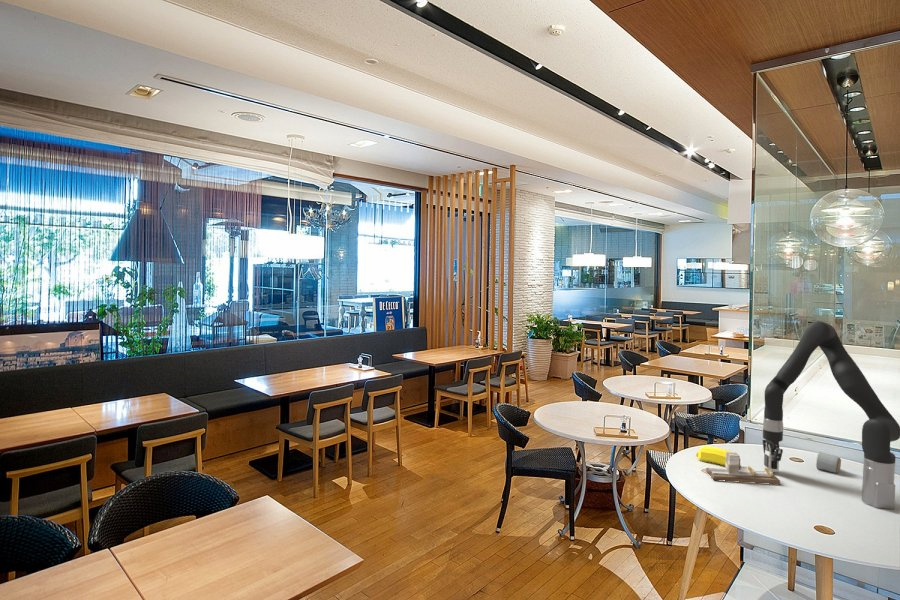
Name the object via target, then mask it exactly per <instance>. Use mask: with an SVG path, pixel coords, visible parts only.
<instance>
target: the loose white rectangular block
mask: <svg viewBox="0 0 900 600" xmlns="http://www.w3.org/2000/svg"><path fill="white" fill-rule="evenodd" d="M772 453H774V452H772ZM763 454H764V453H763ZM763 466H764V468H765V467H767V468H768V469H769V470H770V471H772V472H779V471H780V469H779V468H780V461H777V469H772V468H771V455H770V452H769V450H768V451H766V450H765V454H764V457H763Z"/></svg>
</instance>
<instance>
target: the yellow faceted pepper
mask: <svg viewBox="0 0 900 600" xmlns="http://www.w3.org/2000/svg"><path fill="white" fill-rule="evenodd" d="M726 452H732V451H730V450H727V449H723V448H720V447H716V446H715V447H713V446H707V445H703V446H702V447H700V449H699V450H698V452H696V454H695V455H696V457H697V460H699V461H701V460H702V462H705V461H707V462H706V463H711V462H712V463H711V464H716V465H719V464H720V465H719V466H723V465H724V467H726Z"/></svg>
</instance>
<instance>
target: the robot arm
mask: <svg viewBox="0 0 900 600" xmlns="http://www.w3.org/2000/svg"><path fill="white" fill-rule="evenodd" d="M818 347H819V349H820V350H821V351H822V352H823V354H824V356H825V357H826V360H827V361H828V364H829V368H830V371H831V373H832V376H833V378H834V379H835V381H836V384H837V385H839V388H840V390H841V391H842V392H843V393H844V394H845V395H846V396H847V397H848V398H849V399H851V400H852V401H853V402H855V403H856V404H857V405H858V406H859V407H860V408H861V409H862V410H863V411H864V413H865V415H866V416H867V418H868V419H867V420H865V422H864V423H863V425H862V427H861V428H862V429H861V448H862V451H863V468H862V469H863V470H862V483H861V484H862V485H861V487H862V488H861V501H862V502H864V503H865V504H867V505H868V506H872V507H874V508H877V509H889V510H894V509H895V499H896V498H895V497H896V484H895V473H896V459H897V458H896V454H895V453H893V452H891V442H897V441H898V440H899V439H900V424H899V423H898V421H897V420H896V419H895V418H894V417H893V415H892V414H891V412H890V411H889V410H888V409H887V408H886V407H885V405H884V404H883V403H882V401H881V400H880V398H879V397H878V395H877V394H876V392H875V391H874V389H873V387H872V386H871V385H870V383H869V381H868V379H867V378H866V376H865V374H864V373H863V371H862V370H861V369H860V367H859V366H858V364H857V363H856V361H855V360H854V359H853V358H852V357H851V356H850V353H848V351H847V350H846V348H845V346H844V345H843V343H842V341H841V338H840V336H839V335H838V333H837V331H836V329H835V327H833V326H832V325H831V324H829V323H827V322H824V321H812V322H811V323H809V324H808V325H807V327H806V328H805V330H804V332H803V334H802V336H801V338H800V339H799V341H798V344H797V345H796V347H795V348H794V350H793V351H792V353H791V354H790V356H789V357H788V358H787V360H786V361H785V363H784V364H783V365H782V366H781V367H780V369H779V370H778V371H777V373H776V374H775V376H774V377H773V378H772V379H771V380H770V382H769V383H767V385H766V387H765V389H764V410H763V414H764V415H763V422H762V449H763V450H762V451H763V454H765V450H766V451H768V450H769V452H770V455H771V468H772V469H777V461H779V462H781V461H782V457H783V451H784V449H782V448H780V444H779V443H780V442H782V441H783V440H784V439H783V438H784V422H783V421H784V420H783V419H784V410H783V407H784V406H783V404H784V395H785V393H786V391H787V390H788V389H789V388H790V386H791V385H792V384H793V383H795V382H796V380H797V379H798V378H799V377H800V375H801V374H802V372H803V371H804V370H805V368H806V365H807V363H808V361H809V359H810V357H811V356H812V354H813V353H814V352H815V350H816V349H817V348H818ZM772 452H774V453H772Z"/></svg>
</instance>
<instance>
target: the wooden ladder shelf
mask: <svg viewBox="0 0 900 600" xmlns="http://www.w3.org/2000/svg"><path fill="white" fill-rule="evenodd" d="M724 467H725V468H713V467H712V468H711V467H706V468H705V473H706V472H707V473H708V474H709V475H710V476H711V477H710V476H709V475H708V474H707V473H706V474H707V475H708V476H709V477H710V479H711V480H712V479H713V480H725V481H724V482H727V481H739V482H738V483H743V482H755V483H754V484H759V483H769V484H768V485H775V484H778V485H781V484H780V483H781V482H780V481H781V480H780V478H778V477H777V475H775V474H774V471H770V470H769V469H768V468H767V467H765V466H764V471H762V470H755V469H753V468H752V467H751V466H750V465H748V466H747V469H746V470H745V469H741V458H740V454H738V453H737V452H735V451H731V452H726V466H724ZM713 480H712V481H713Z"/></svg>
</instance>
